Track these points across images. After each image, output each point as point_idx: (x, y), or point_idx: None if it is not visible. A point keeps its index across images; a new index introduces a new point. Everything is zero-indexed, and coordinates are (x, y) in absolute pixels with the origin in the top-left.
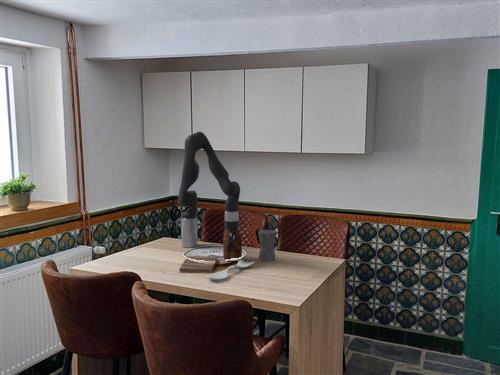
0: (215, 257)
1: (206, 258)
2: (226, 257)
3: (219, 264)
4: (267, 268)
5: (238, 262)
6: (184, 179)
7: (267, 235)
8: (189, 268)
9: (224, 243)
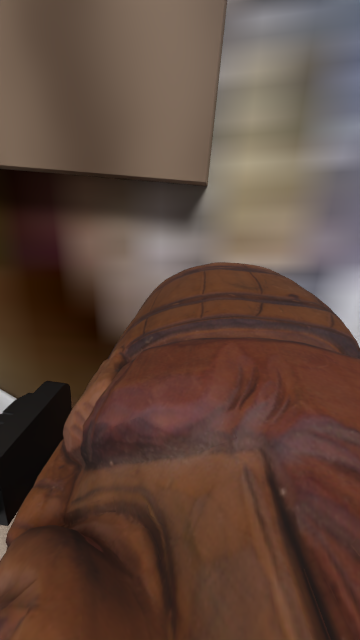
0: (156, 160)
1: (100, 3)
2: (142, 306)
3: (46, 220)
4: (4, 532)
5: (9, 403)
6: None
7: None
8: None
9: (120, 370)
